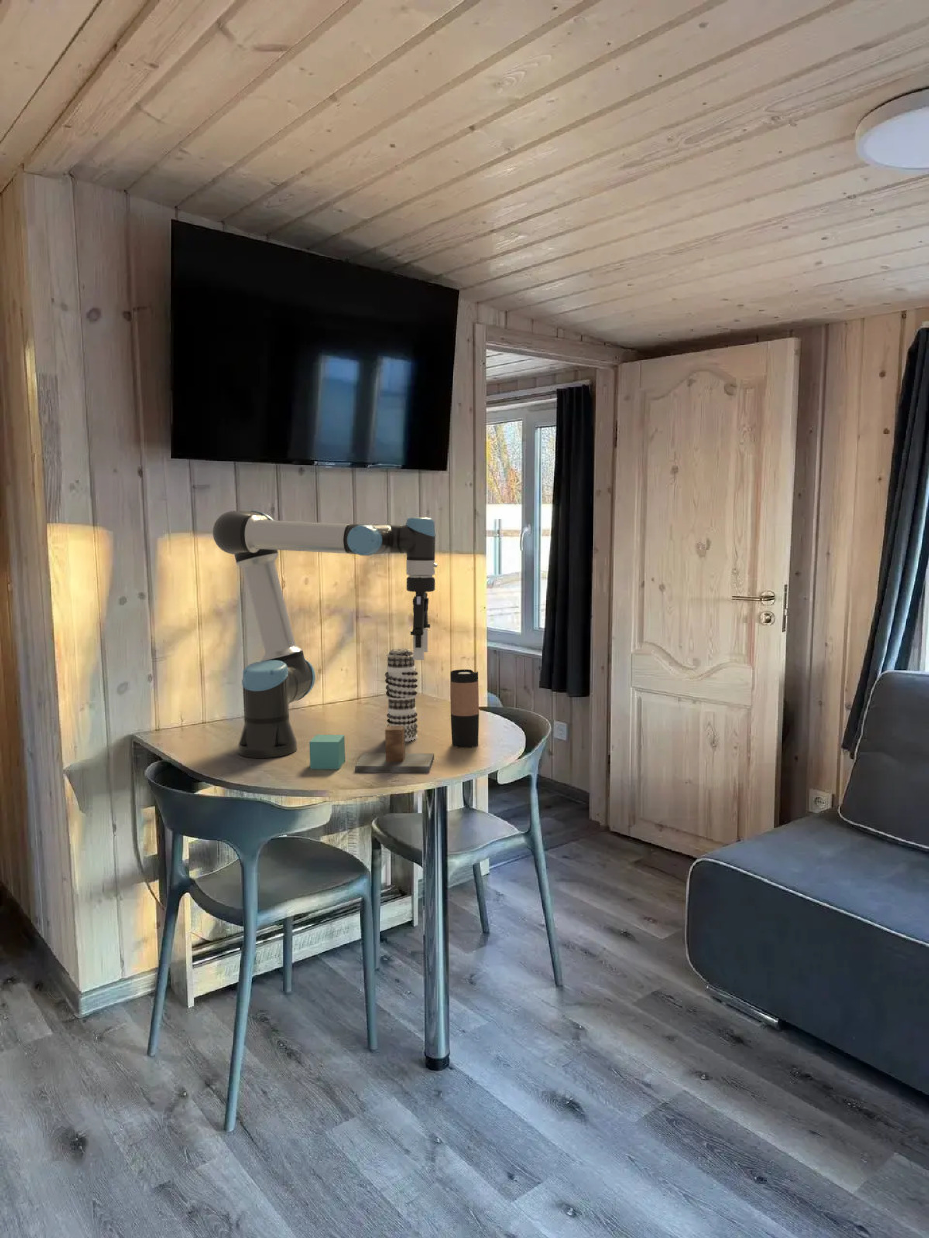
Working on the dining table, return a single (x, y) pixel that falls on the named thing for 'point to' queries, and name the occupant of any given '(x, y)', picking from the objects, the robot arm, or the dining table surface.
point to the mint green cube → (327, 752)
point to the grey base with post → (395, 756)
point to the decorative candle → (402, 691)
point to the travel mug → (464, 708)
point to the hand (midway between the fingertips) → (420, 655)
